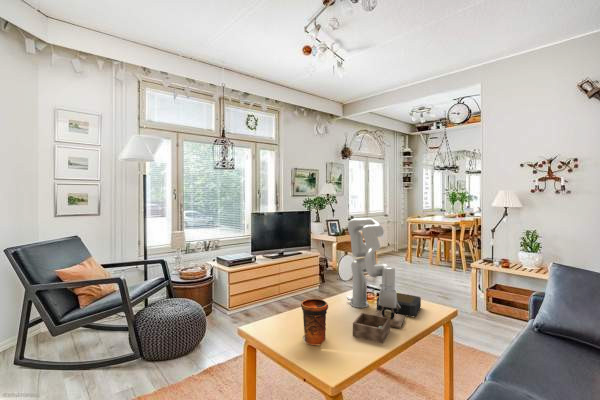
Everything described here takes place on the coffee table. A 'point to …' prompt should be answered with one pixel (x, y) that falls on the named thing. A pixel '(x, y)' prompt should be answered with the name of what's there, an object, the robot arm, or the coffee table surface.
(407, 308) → the cash box
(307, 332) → the vessel
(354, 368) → the coffee table surface
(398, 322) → the lid
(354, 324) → the storage box
